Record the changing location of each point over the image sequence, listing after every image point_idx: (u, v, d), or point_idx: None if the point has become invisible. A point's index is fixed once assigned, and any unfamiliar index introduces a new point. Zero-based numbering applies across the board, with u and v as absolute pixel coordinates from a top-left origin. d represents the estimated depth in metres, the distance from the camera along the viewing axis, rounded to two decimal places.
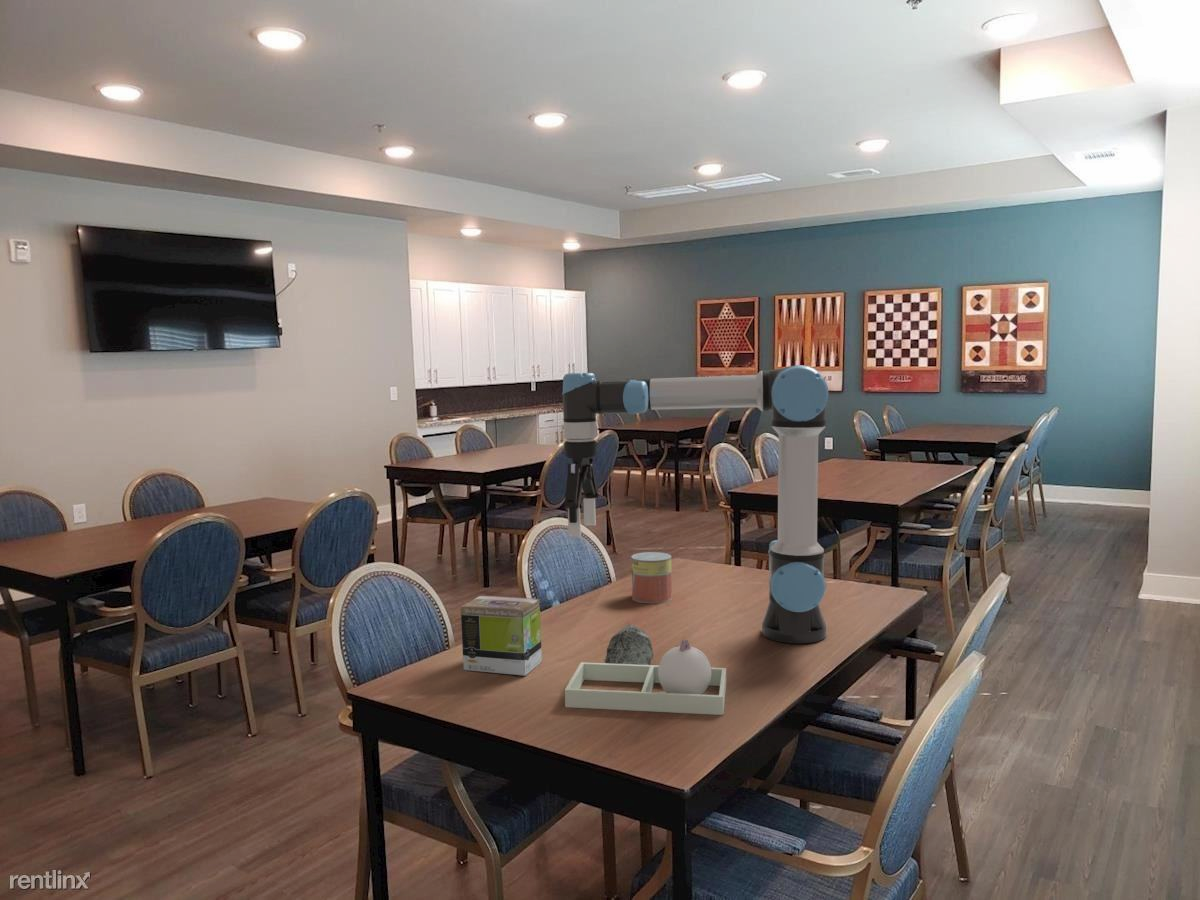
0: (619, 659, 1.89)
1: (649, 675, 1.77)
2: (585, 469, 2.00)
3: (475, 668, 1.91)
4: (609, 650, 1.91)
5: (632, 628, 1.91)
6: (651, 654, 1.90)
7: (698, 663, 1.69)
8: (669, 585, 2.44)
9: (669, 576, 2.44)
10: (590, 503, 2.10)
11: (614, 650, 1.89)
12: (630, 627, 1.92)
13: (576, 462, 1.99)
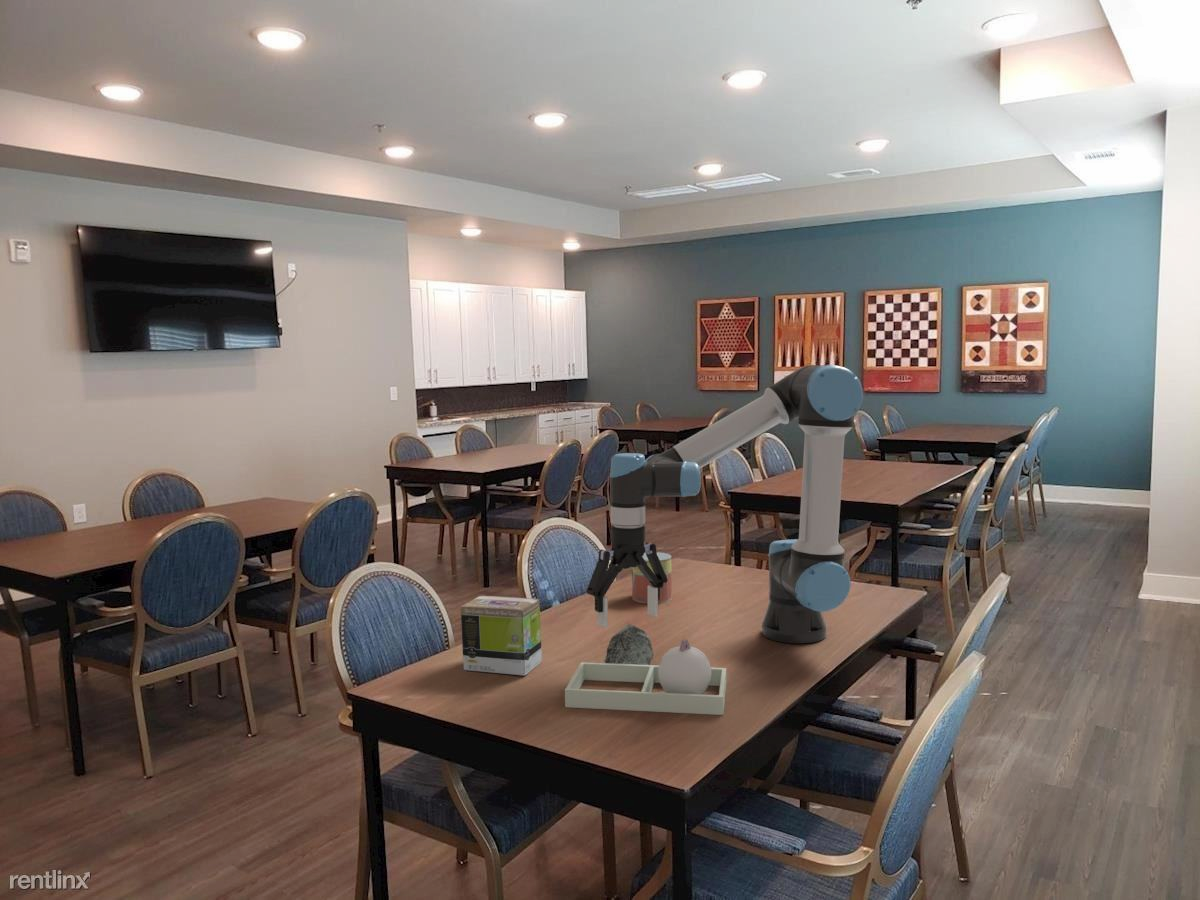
0: (619, 659, 1.89)
1: (649, 675, 1.77)
2: (624, 557, 1.88)
3: (475, 668, 1.91)
4: (609, 650, 1.91)
5: (632, 628, 1.91)
6: (651, 654, 1.90)
7: (698, 663, 1.69)
8: (669, 585, 2.44)
9: (669, 576, 2.44)
10: (652, 592, 1.95)
11: (614, 650, 1.89)
12: (630, 627, 1.92)
13: (614, 549, 1.88)
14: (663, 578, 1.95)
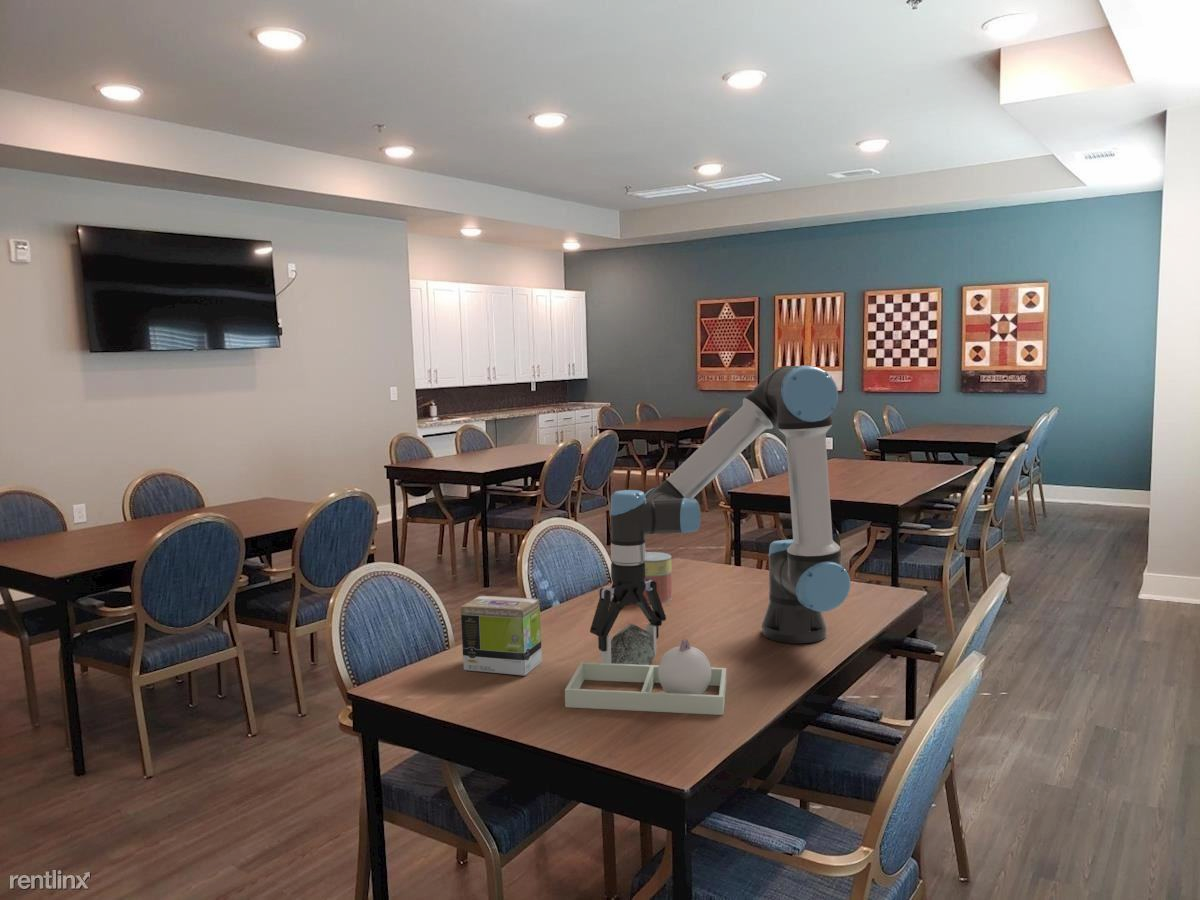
0: (620, 658, 1.89)
1: (649, 675, 1.77)
2: (625, 594, 1.89)
3: (475, 668, 1.91)
4: None
5: (633, 627, 1.92)
6: (652, 653, 1.91)
7: (698, 663, 1.69)
8: (669, 585, 2.44)
9: (669, 576, 2.44)
10: (650, 630, 1.95)
11: (615, 649, 1.89)
12: (631, 626, 1.92)
13: (614, 586, 1.89)
14: (662, 616, 1.96)
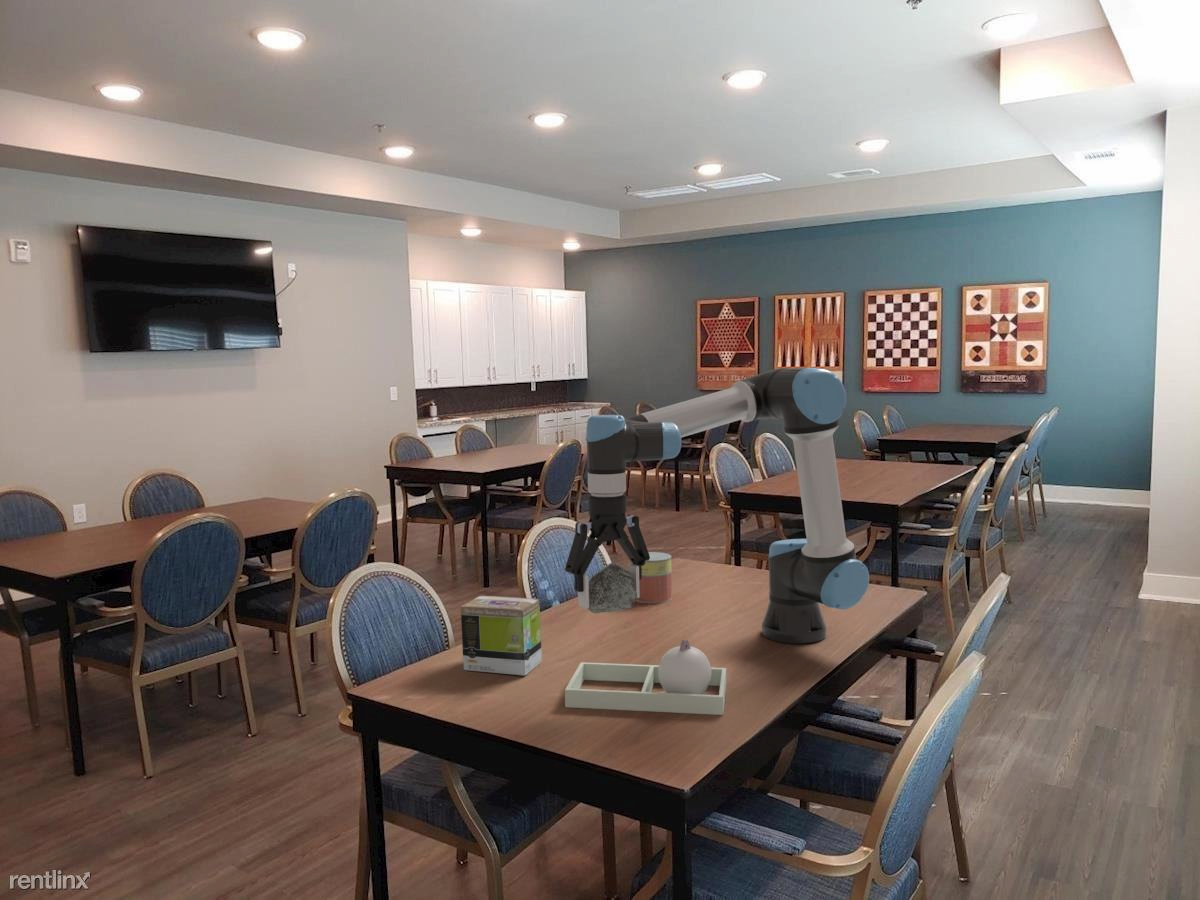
0: (599, 600, 1.71)
1: (649, 675, 1.77)
2: (603, 529, 1.71)
3: (475, 668, 1.91)
4: None
5: (613, 566, 1.74)
6: (634, 595, 1.73)
7: (698, 663, 1.69)
8: (669, 585, 2.44)
9: (669, 576, 2.44)
10: (633, 571, 1.77)
11: (593, 590, 1.71)
12: (611, 565, 1.74)
13: (592, 520, 1.71)
14: (645, 555, 1.77)
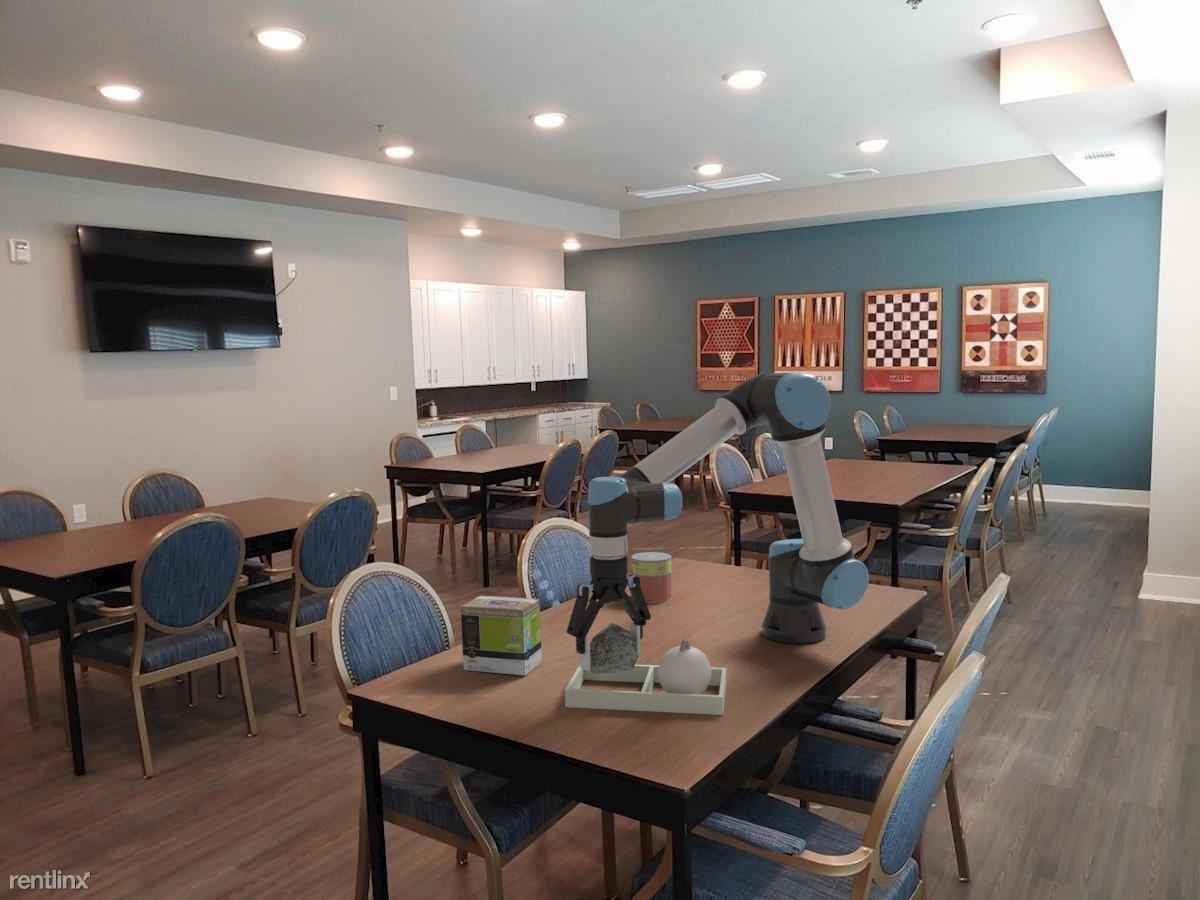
0: (600, 661, 1.72)
1: (649, 675, 1.77)
2: (605, 591, 1.72)
3: (475, 668, 1.91)
4: None
5: (615, 627, 1.75)
6: (635, 656, 1.74)
7: (698, 663, 1.69)
8: (669, 585, 2.44)
9: (669, 576, 2.44)
10: (634, 630, 1.78)
11: (595, 652, 1.72)
12: (612, 626, 1.75)
13: (593, 582, 1.72)
14: (646, 615, 1.79)
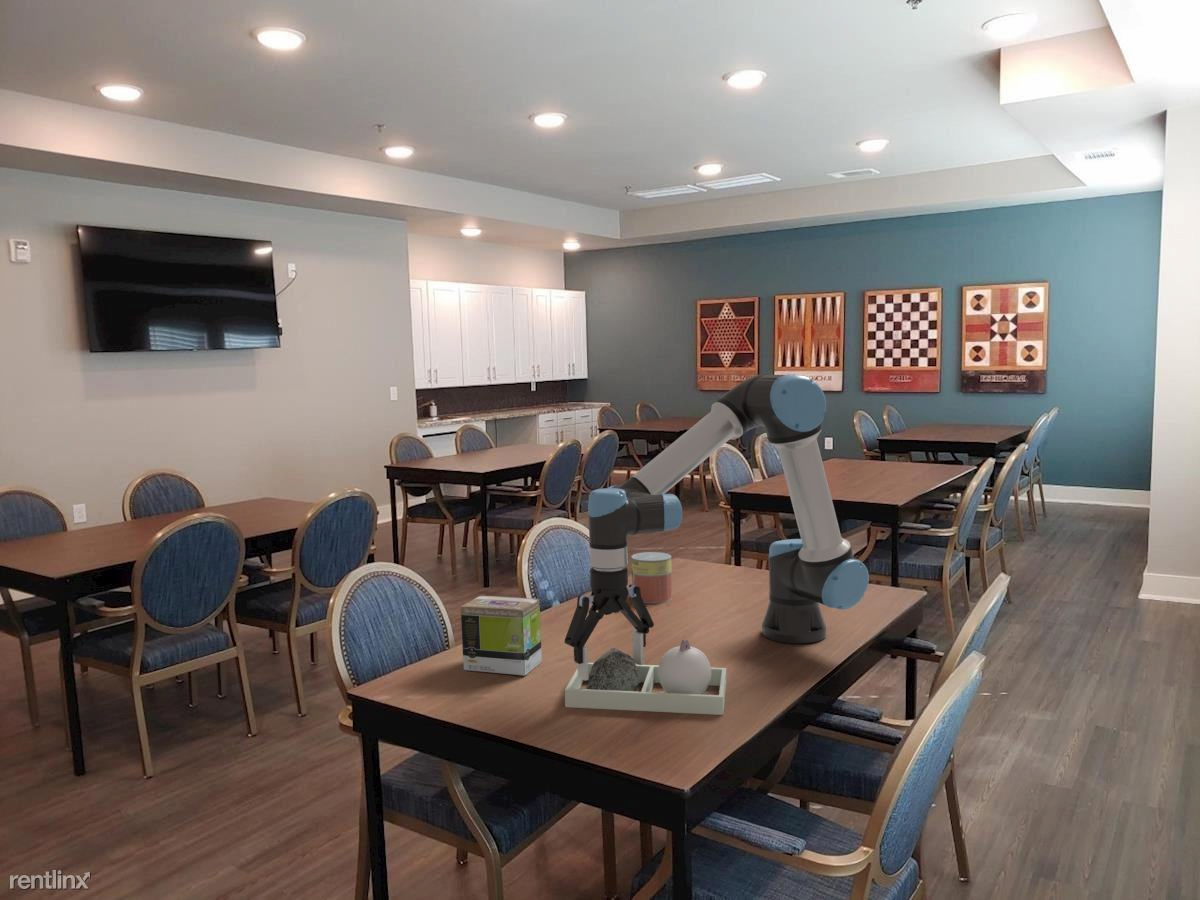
0: (602, 687, 1.73)
1: (649, 675, 1.77)
2: (605, 603, 1.72)
3: (475, 668, 1.91)
4: (591, 677, 1.75)
5: (616, 653, 1.76)
6: (637, 681, 1.75)
7: (698, 663, 1.69)
8: (669, 585, 2.44)
9: (669, 576, 2.44)
10: (637, 638, 1.79)
11: (596, 677, 1.73)
12: (614, 651, 1.76)
13: (594, 593, 1.72)
14: (649, 623, 1.79)
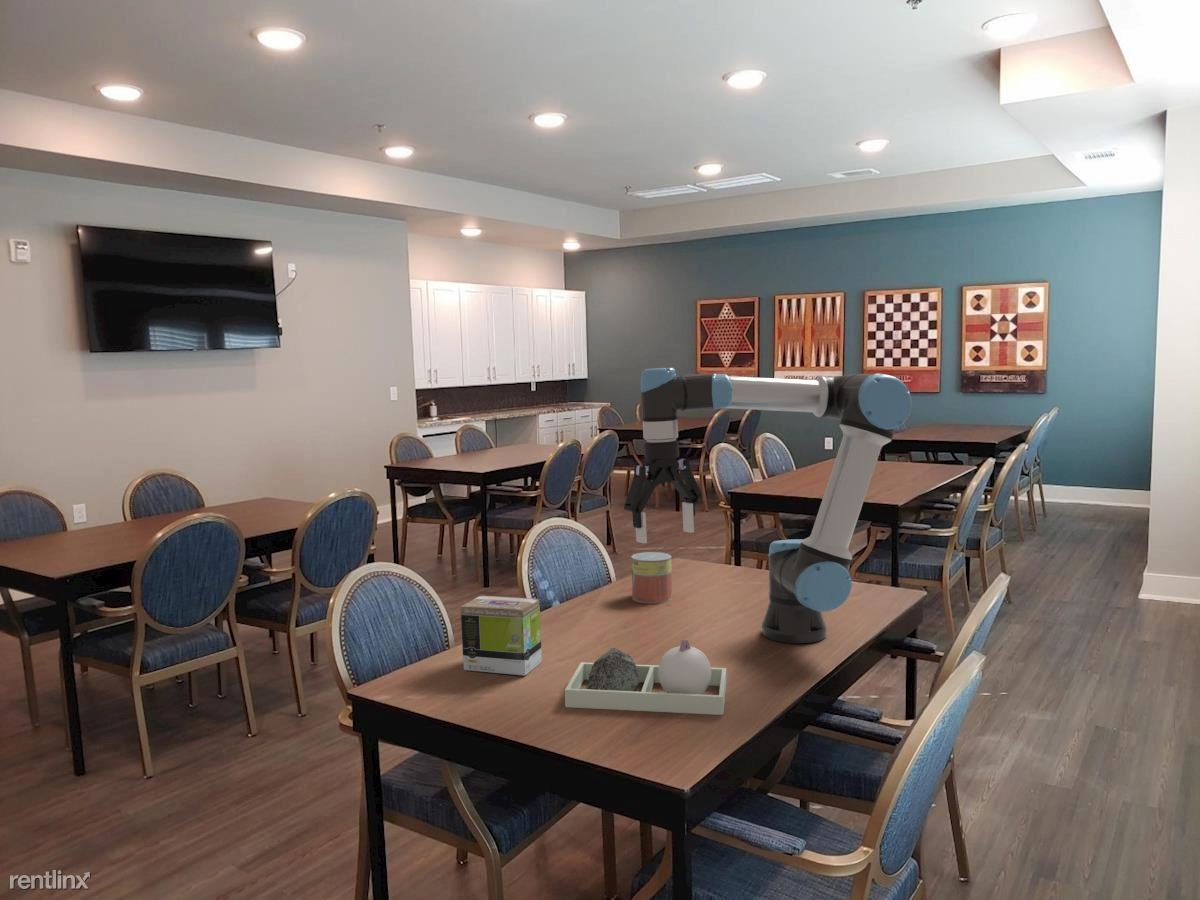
0: (602, 687, 1.73)
1: (649, 675, 1.77)
2: (659, 472, 1.87)
3: (475, 668, 1.91)
4: (591, 677, 1.75)
5: (616, 653, 1.76)
6: (637, 681, 1.75)
7: (698, 663, 1.69)
8: (669, 585, 2.44)
9: (669, 576, 2.44)
10: (687, 508, 1.94)
11: (596, 677, 1.73)
12: (614, 651, 1.76)
13: (648, 464, 1.87)
14: (697, 493, 1.94)
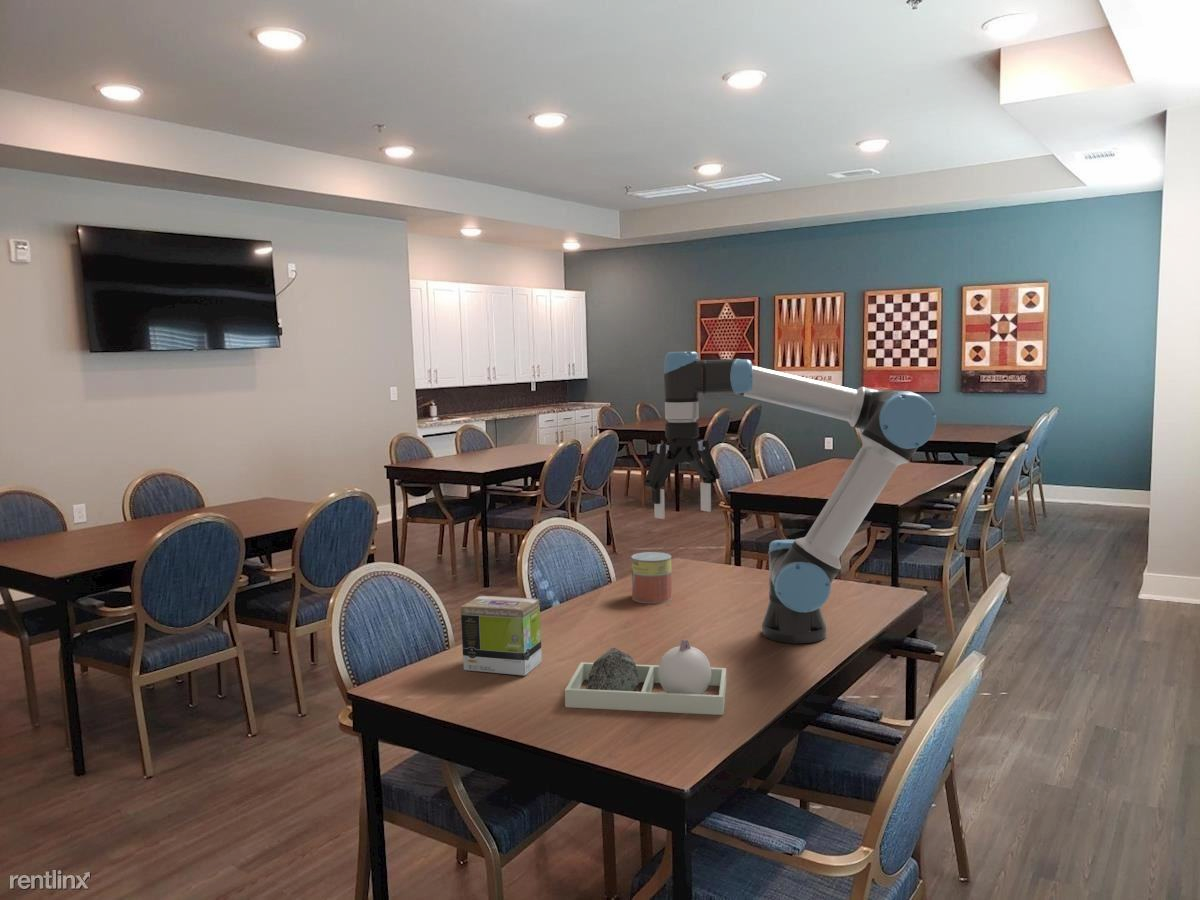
0: (602, 687, 1.73)
1: (649, 675, 1.77)
2: (679, 451, 1.94)
3: (475, 668, 1.91)
4: (591, 677, 1.75)
5: (616, 652, 1.76)
6: (637, 681, 1.75)
7: (698, 663, 1.69)
8: (669, 585, 2.44)
9: (669, 576, 2.44)
10: (705, 488, 2.01)
11: (596, 677, 1.73)
12: (614, 651, 1.76)
13: (669, 443, 1.95)
14: (715, 474, 2.02)
